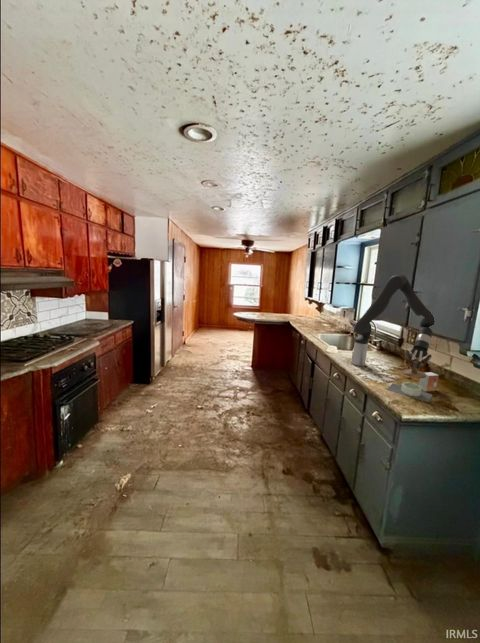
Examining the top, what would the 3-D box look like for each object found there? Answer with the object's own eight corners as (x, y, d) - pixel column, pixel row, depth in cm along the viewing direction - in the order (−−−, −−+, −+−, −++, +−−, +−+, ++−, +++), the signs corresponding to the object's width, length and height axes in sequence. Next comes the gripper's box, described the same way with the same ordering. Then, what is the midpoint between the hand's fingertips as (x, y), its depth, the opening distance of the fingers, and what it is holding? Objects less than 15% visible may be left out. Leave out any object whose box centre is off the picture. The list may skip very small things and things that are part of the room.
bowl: (399, 392, 172) (400, 385, 171) (403, 388, 180) (404, 380, 179) (418, 398, 166) (419, 390, 165) (421, 393, 173) (423, 385, 172)
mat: (386, 390, 176) (386, 389, 176) (392, 384, 187) (392, 383, 186) (428, 402, 162) (428, 402, 162) (432, 395, 172) (432, 394, 172)
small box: (425, 392, 176) (428, 375, 174) (418, 388, 182) (420, 372, 180) (436, 391, 179) (439, 375, 176) (428, 387, 184) (431, 371, 182)
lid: (399, 373, 170) (402, 360, 169) (405, 369, 179) (407, 356, 177) (423, 379, 162) (425, 366, 161) (427, 374, 171) (430, 361, 170)
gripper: (408, 337, 177) (400, 360, 170) (435, 342, 168) (428, 367, 161) (409, 344, 182) (401, 367, 175) (435, 349, 173) (428, 373, 166)
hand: (414, 367), depth 168 cm, fingers closed on lid, 2 cm apart
